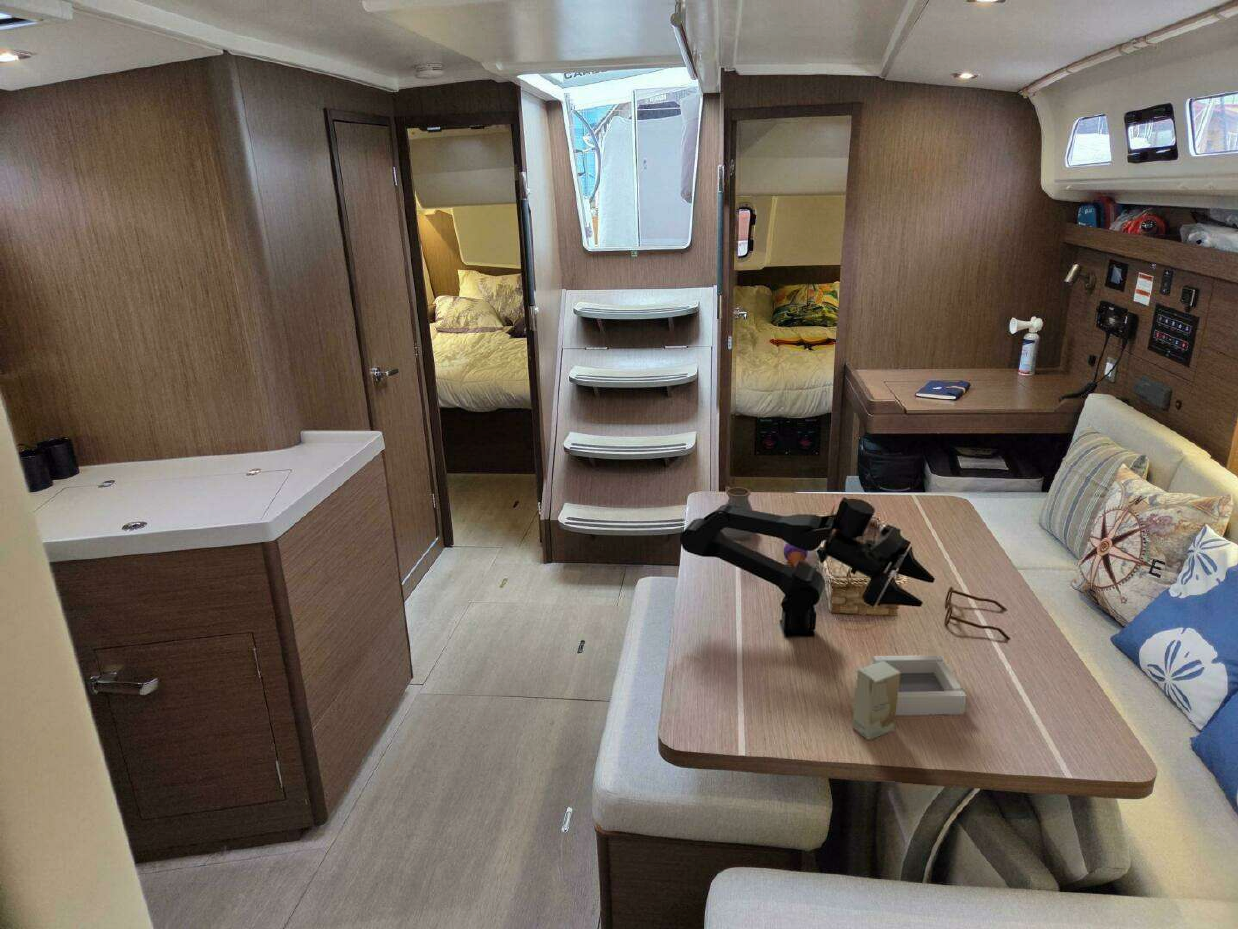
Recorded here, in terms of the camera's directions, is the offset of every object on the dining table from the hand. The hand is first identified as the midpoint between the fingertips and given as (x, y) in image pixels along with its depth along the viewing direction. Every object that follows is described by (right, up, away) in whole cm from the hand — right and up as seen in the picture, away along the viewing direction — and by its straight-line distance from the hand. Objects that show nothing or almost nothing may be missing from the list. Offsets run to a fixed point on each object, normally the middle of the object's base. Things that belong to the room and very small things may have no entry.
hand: (928, 592), depth 157 cm
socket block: (-4, -18, -4) cm, 19 cm away
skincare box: (-15, -22, -14) cm, 30 cm away
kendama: (-17, -3, +41) cm, 44 cm away
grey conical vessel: (-29, +4, +59) cm, 66 cm away
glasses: (+18, -10, +20) cm, 29 cm away
